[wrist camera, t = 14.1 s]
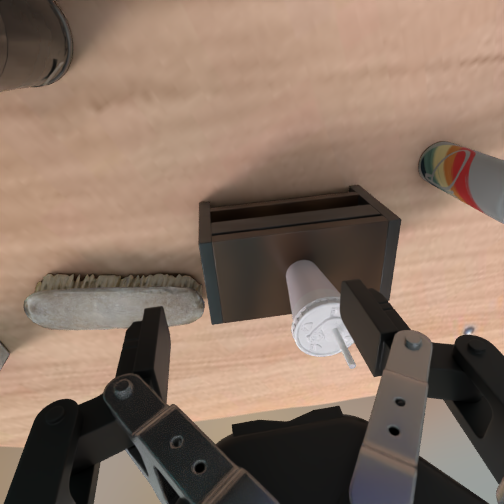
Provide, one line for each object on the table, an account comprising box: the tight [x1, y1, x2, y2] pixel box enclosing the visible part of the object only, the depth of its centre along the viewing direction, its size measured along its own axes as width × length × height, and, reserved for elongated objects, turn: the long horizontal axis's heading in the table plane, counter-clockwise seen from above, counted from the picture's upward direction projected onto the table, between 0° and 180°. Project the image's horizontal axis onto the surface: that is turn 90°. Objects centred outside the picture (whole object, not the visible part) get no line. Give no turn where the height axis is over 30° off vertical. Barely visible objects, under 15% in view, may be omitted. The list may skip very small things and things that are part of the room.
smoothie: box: [286, 260, 356, 369], centre depth 34 cm, size 6×6×14 cm
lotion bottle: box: [419, 142, 504, 224], centre depth 40 cm, size 6×6×20 cm
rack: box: [199, 185, 401, 325], centre depth 45 cm, size 22×11×12 cm, turn 94°
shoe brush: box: [24, 273, 205, 330], centre depth 50 cm, size 24×8×5 cm, turn 87°
